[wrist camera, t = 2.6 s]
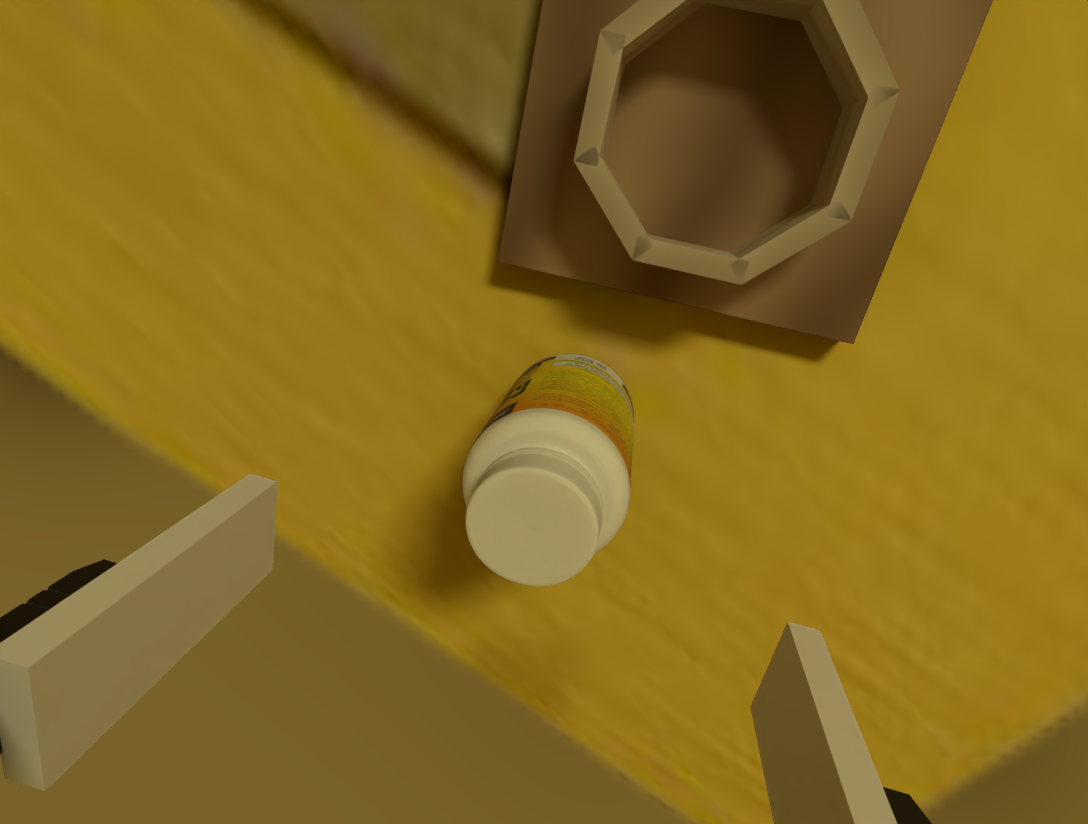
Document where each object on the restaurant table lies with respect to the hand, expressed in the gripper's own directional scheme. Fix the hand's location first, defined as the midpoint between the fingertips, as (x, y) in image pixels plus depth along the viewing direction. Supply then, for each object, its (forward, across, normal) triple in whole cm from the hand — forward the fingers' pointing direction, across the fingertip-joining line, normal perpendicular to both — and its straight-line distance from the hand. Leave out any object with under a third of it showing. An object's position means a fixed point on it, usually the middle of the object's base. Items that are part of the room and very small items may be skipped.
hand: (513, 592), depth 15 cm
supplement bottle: (+13, 0, 0) cm, 13 cm away
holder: (+13, +3, +12) cm, 18 cm away
